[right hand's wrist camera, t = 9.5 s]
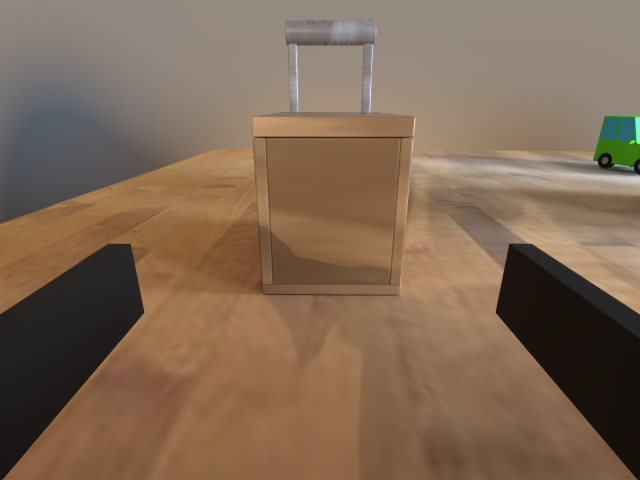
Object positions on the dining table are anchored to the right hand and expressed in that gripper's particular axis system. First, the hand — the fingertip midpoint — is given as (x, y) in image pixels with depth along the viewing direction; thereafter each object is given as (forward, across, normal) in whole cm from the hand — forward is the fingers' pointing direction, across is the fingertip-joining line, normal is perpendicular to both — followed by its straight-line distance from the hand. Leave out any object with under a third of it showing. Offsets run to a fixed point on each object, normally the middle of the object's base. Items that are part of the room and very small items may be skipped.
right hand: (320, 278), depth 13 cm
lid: (+18, +1, +4) cm, 18 cm away
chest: (+17, +1, -6) cm, 18 cm away
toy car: (+59, +62, -6) cm, 86 cm away
